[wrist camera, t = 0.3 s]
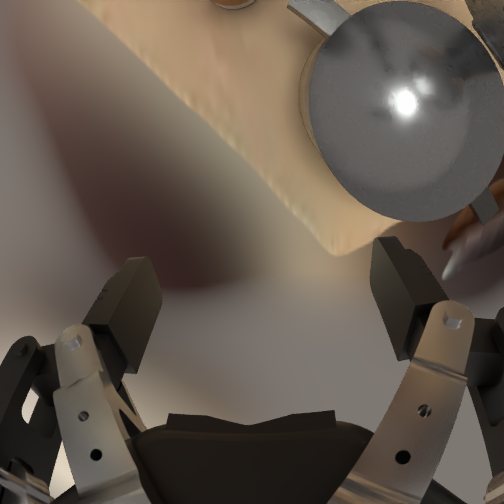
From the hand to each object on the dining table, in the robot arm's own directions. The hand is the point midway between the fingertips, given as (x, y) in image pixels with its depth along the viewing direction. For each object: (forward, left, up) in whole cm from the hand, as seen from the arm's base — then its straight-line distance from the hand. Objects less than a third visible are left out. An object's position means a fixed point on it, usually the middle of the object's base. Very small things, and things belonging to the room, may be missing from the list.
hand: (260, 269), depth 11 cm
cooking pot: (-5, +15, -29) cm, 33 cm away
